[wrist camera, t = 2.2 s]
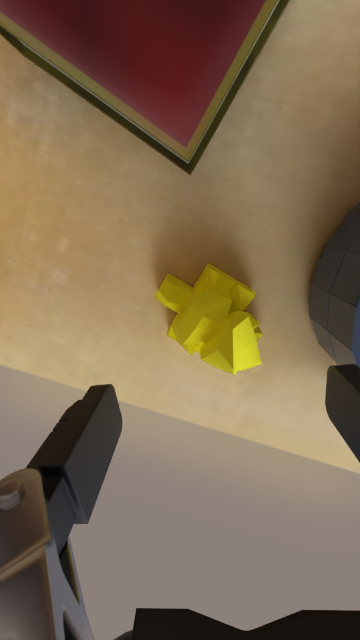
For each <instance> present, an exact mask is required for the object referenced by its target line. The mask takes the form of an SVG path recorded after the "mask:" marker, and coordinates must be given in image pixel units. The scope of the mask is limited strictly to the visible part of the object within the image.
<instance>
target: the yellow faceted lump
mask: <svg viewBox="0 0 360 640" xmlns="http://www.w3.org/2000/svg"><path fill="white" fill-rule="evenodd" d="M255 295H256V294H255V292H254V291H253V290H252V289H251V288H249V287H248V286H246V285H245V284H243V283H241V282H240V281H238V280H236V279H235V278H233V277H231V276H230V275H228V274H226V273H225V272H223V271H222V270H220V269H218V268H217V267H215V266H213V265H212V264H210V263H208V264H207V266H206V267H205V269H204V270H203V272H202V274H201V275H200V277H199V279H198V280H197V282H196V283H195V285H194V287H191V286H190V285H188V284H186V283H184V282H183V281H181V280H179V279H178V278H176V277H174V276H173V275H171V274H169V273H168V274H167V276H166V277H165V279H164V281H163V282H162V284H161V286H160V288H159V289H158V291H157V293H156V295H155V298H156V299H158V300H159V301H160V302H161V303H162V304H163V305H165V306H166V307H168V308H170V309H172V310H173V311H175V312H177V314H176V316H175V318H174V319H173V321H172V322H171V324H170V326H169V328H168V331H167V336H169V337H171V338H172V339H174V340H176V341H177V342H178V343H179V344H180V345H181V346H182V347H183V348H185V349H186V350H187V351H188V352H189V353H190V354H191V355H192V354H193V353H194V351H196V352H198V353H199V354H201V360H203V361H205V362H206V363H208V364H210V365H212V366H214V367H217V368H219V369H221V370H223V371H226V372H228V373H231V374H233V375H235V373H236V372H237V371H242V370H245V369H248V368H251V367H254V366H257V365H260V364H262V363H261V359H260V354H259V350H258V346H257V341H258V340H259V338H260V337H261V336H262V335H263V333H262V332H261V330H260V328H259V327H258V325H259V324H260V323H259V322H258V321H257V320H256V319H255V318H254V317H253V316H252V315H251V314H250V313H249V312H244V311H245V309H246V308H247V306H248V305H249V304H250V302H251V301H252V299H253V298H254V297H255Z"/></svg>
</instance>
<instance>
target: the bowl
mask: <svg viewBox="0 0 360 640" xmlns="http://www.w3.org/2000/svg"><path fill="white" fill-rule="evenodd" d="M310 319H311V322H312V325H313V328H314V331H315V334H316V337H317V340H318V343H319V344H320V346H321V347H322V348H323V349H324V351H325V352H326V353H327V354H328V355H329V356H330V357H331V359H332V360H333V361H334V362H335V363H336V364H337V365H346V364H355V365H357V366H358V367H359V368H360V203H359V204H358V205H357V206H356V207H354V208H353V209H352V210H351V211H350V212H349V213H348V215H347V216H346V218H345V219H344V220H343V222H342V223H341V225H340V226H339V227H338V229H337V230H336V231H335V233H334V234H333V236H332V237H331V238H330V240H329V241H328V242H327V244H326V245H325V247H324V249H323V252H322V254H321V257H320V260H319V262H318V265H317V268H316V271H315V273H314V276H313V279H312V281H311V295H310Z"/></svg>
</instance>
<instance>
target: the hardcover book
mask: <svg viewBox="0 0 360 640" xmlns="http://www.w3.org/2000/svg"><path fill="white" fill-rule="evenodd" d="M289 1H290V0H0V35H1V36H2V37H3V38H4V39H6V40H7V41H8V42H9V43H10V44H11V45H12V46H13V47H14V48H15V49H17V50H18V51H19V52H20V53H21V54H22V55H24V56H25V57H26V58H28V59H29V60H31V61H32V62H33V63H35V64H36V65H38V66H39V67H40V68H42V69H43V70H44V71H46V72H47V73H49V74H50V75H51V76H53V77H54V78H56V79H57V80H58V81H60V82H61V83H63V84H64V85H65V86H67V87H68V88H70V89H71V90H72V91H74V92H75V93H77V94H78V95H79V96H81V97H82V98H84V99H85V100H86V101H88V102H89V103H91V104H92V105H93V106H95V107H96V108H97V109H99V110H100V111H102V112H103V113H104V114H106V115H107V116H109V117H110V118H111V119H113V120H114V121H116V122H117V123H118V124H120V125H121V126H123V127H124V128H125V129H127V130H128V131H130V132H131V133H132V134H134V135H135V136H137V137H138V138H139V139H141V140H142V141H144V142H145V143H146V144H148V145H149V146H150V147H152V148H153V149H155V150H156V151H157V152H159V153H160V154H162V155H163V156H164V157H166V158H167V159H169V160H170V161H171V162H173V163H174V164H176V165H177V166H178V167H180V168H181V169H183V170H184V171H185V172H187V173H188V174H190V175H191V173H192V171H193V170H194V168H195V166H196V164H197V163H198V161H199V159H200V157H201V156H202V154H203V152H204V150H205V149H206V147H207V145H208V143H209V142H210V140H211V138H212V136H213V134H214V133H215V131H216V129H217V127H218V126H219V124H220V122H221V120H222V119H223V117H224V115H225V113H226V112H227V110H228V108H229V106H230V104H231V103H232V101H233V99H234V97H235V96H236V94H237V92H238V90H239V89H240V87H241V85H242V83H243V82H244V80H245V78H246V76H247V75H248V73H249V71H250V69H251V67H252V66H253V64H254V62H255V60H256V59H257V57H258V55H259V53H260V52H261V50H262V48H263V46H264V45H265V43H266V41H267V39H268V38H269V36H270V34H271V32H272V30H273V29H274V27H275V25H276V23H277V22H278V20H279V18H280V16H281V15H282V13H283V11H284V9H285V8H286V6H287V4H288V2H289Z"/></svg>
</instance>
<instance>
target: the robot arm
mask: <svg viewBox="0 0 360 640" xmlns="http://www.w3.org/2000/svg"><path fill="white" fill-rule="evenodd" d="M325 405H326V410H327V413H328V416H329V418H330V420H331V421H332V423H333V424H334V426H335V427H336V429H337V430H338V432H339V433H340V434H341V436H342V437H343V439H344V440H345V442H346V443H347V445H348V446H349V448H350V449H351V450H352V452H353V453H354V455H355V456H356V458H357V459H358V461H359V462H360V368H359V367H358V366H357V365H355V364H346V365H334V366H330V367H329V368H328V371H327V384H326V399H325ZM121 430H122V416H121V412H120V408H119V404H118V401H117V397H116V393H115V390H114V387H113V385H112V384H106V385H95V386H91V387H90V388H89V390H88V391H87V393H86V394H85V396H84V397H83V399H82V400H78V401H77V402H75V403H74V404H73V405H72V406H71V407H69V408H68V409H67V410H66V411H65V413H64V414H63V416H62V417H61V419H60V420H59V423H57V424H56V426H55V427H54V429H53V432H51V433H50V434H49V436H48V437H47V439H46V440H45V441H44V443H43V444H42V446H41V447H40V448H39V450H38V451H37V453H36V454H35V456H34V457H33V458H32V460H31V461H30V463H29V464H28V465H27V467H26V468H25V469H21V470H18V471H15V472H13V473H11V474H9V475H7V476H6V477H5V478H3V479H1V480H0V640H94V636H93V633H92V630H91V627H90V624H89V621H88V618H87V614H86V611H85V606H84V602H83V597H82V593H81V588H80V584H79V579H78V574H77V570H76V566H75V561H74V556H73V552H72V548H71V542H70V539H69V537H68V536H69V534H70V531H71V529H72V527H73V524H88V522H89V519H90V516H91V514H92V511H93V508H94V505H95V503H96V500H97V497H98V494H99V491H100V489H101V486H102V483H103V481H104V478H105V475H106V472H107V470H108V467H109V464H110V461H111V459H112V456H113V453H114V450H115V448H116V445H117V442H118V439H119V437H120V433H121ZM114 640H360V611H341V610H339V611H338V610H301V611H299V612H296V613H293V614H291V615H289V616H286V617H283V618H281V619H278V620H276V621H273V622H271V623H268V624H266V625H263V626H261V627H258V628H256V629H253V630H250V631H244V630H240V629H237V628H235V627H232V626H230V625H227V624H224V623H222V622H220V621H217V620H214V619H212V618H210V617H207V616H205V615H202V614H200V613H197V612H195V611H192V610H189V609H152V608H137V609H136V614H135V621H134V626H133V630H131V631H128V632H126V633H124V634H122V635H121V636H119V637H118V638H116V639H114Z"/></svg>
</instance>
